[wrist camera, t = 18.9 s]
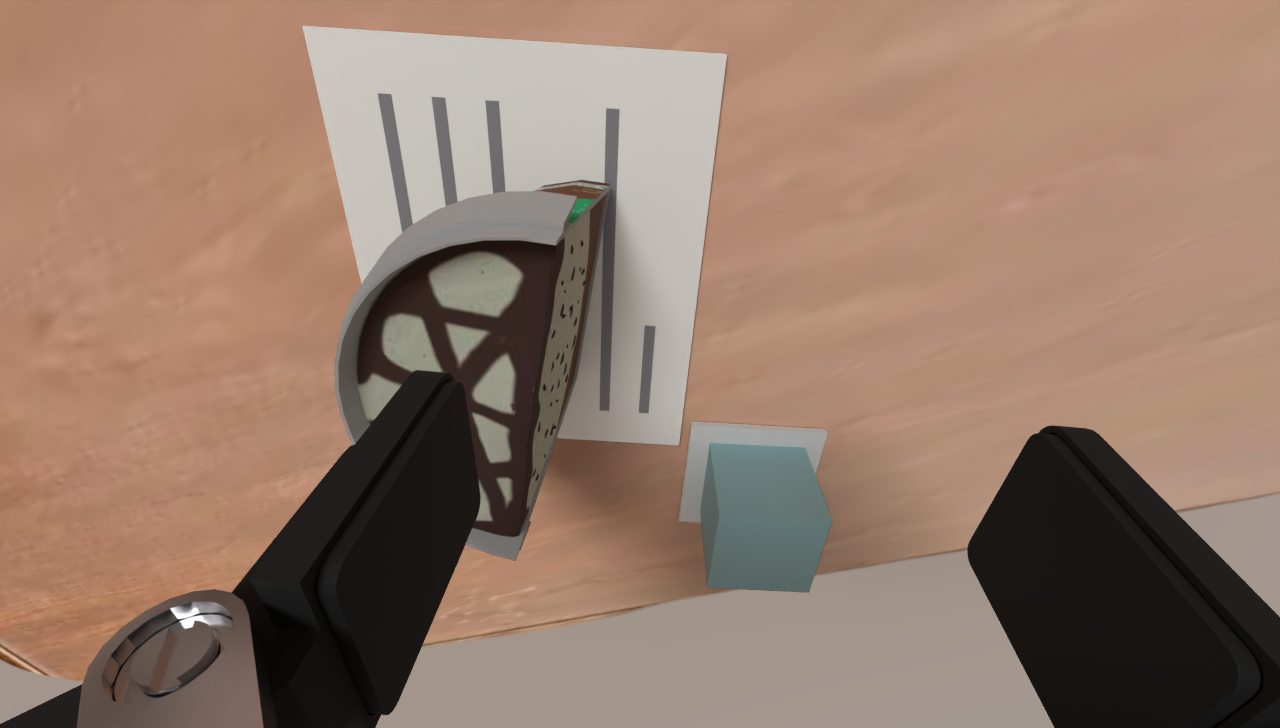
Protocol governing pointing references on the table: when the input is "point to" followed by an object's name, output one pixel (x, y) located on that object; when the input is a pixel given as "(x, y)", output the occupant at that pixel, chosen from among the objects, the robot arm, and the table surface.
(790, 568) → the teal block
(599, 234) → the food container
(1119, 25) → the table surface
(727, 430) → the mat
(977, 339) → the table surface
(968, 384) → the table surface
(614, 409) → the letter
